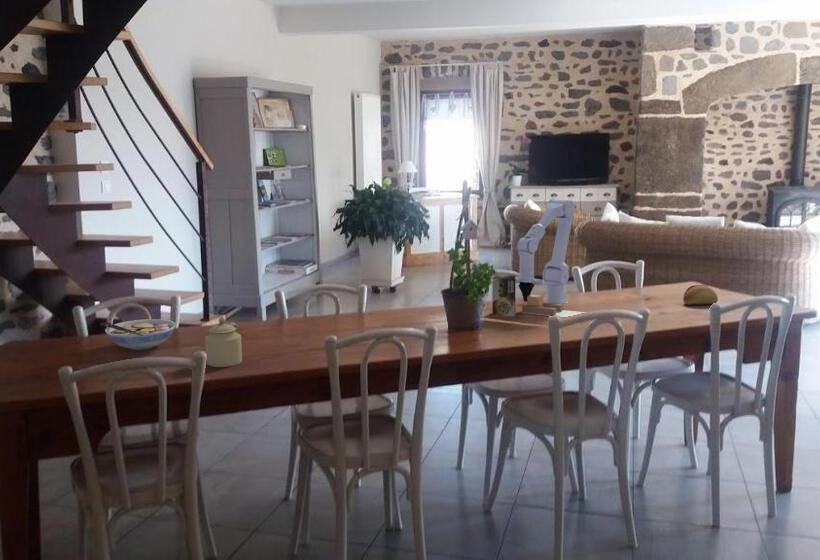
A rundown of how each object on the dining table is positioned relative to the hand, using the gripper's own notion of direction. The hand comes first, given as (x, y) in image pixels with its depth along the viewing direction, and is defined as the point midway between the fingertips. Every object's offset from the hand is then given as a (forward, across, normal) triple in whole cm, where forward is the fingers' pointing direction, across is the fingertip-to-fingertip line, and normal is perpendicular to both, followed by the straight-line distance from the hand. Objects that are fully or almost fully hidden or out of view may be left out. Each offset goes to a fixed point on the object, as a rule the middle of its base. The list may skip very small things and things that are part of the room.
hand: (526, 301), depth 302 cm
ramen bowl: (+5, -93, -112) cm, 146 cm away
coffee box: (+5, -4, -12) cm, 14 cm away
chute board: (+4, +12, 0) cm, 13 cm away
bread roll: (+5, +58, +48) cm, 75 cm away
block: (+3, +4, 0) cm, 5 cm away
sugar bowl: (+5, -57, -110) cm, 124 cm away
